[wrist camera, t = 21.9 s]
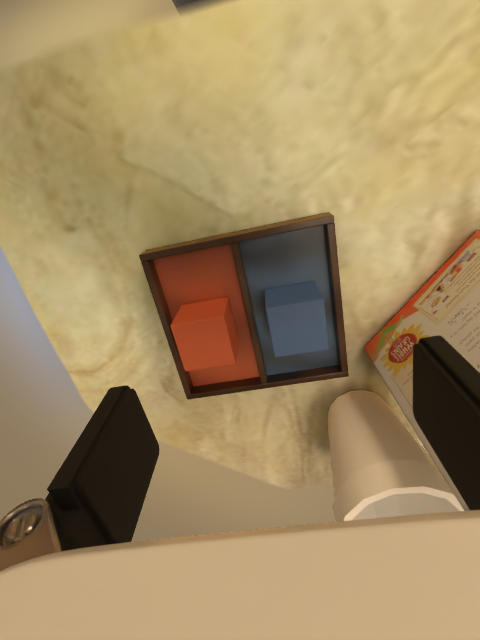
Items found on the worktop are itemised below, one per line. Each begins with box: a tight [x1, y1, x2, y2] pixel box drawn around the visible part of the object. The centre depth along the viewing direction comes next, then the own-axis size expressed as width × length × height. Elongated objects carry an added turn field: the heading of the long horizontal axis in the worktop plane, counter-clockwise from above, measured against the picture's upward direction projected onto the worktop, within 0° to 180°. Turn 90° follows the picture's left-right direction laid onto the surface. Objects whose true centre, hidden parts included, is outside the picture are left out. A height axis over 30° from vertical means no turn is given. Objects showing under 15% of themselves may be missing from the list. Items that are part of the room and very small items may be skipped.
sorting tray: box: [139, 212, 349, 399], centre depth 31 cm, size 15×16×2 cm
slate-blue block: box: [265, 281, 329, 357], centre depth 29 cm, size 4×4×4 cm
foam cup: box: [328, 390, 464, 522], centre depth 31 cm, size 10×9×13 cm
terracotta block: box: [170, 297, 238, 371], centre depth 30 cm, size 4×4×4 cm
